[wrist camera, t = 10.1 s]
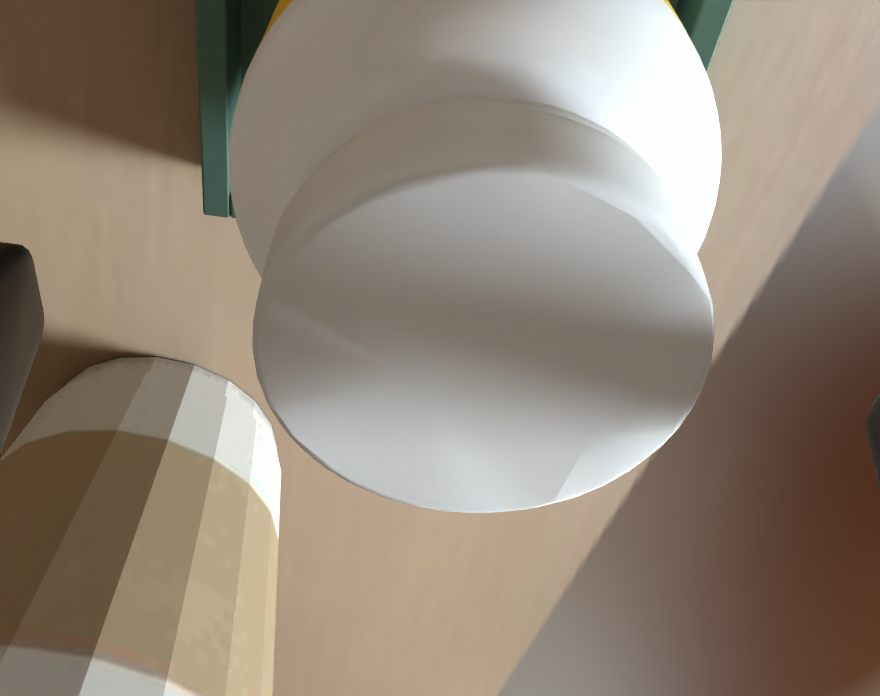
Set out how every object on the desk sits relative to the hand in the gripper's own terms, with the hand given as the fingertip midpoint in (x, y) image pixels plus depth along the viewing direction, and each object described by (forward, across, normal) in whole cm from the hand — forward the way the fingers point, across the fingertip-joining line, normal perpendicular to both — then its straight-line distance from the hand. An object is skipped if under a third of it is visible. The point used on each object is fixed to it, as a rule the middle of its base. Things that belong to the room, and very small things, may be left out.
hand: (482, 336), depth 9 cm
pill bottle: (+11, 0, 0) cm, 11 cm away
